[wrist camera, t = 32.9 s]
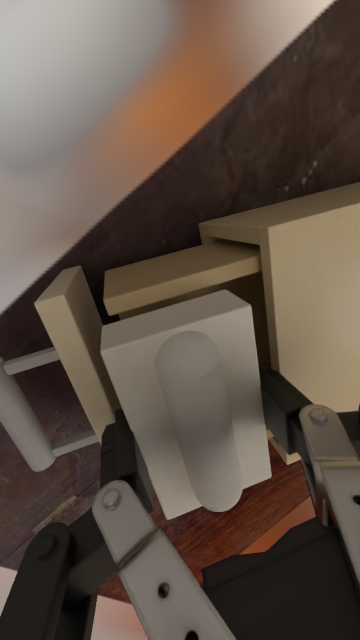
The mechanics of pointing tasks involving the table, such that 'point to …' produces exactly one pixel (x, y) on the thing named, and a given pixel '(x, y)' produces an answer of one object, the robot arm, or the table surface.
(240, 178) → the table surface
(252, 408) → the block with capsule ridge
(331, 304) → the cabinet
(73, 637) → the robot arm
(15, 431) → the drawer
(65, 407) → the table surface
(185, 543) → the table surface
